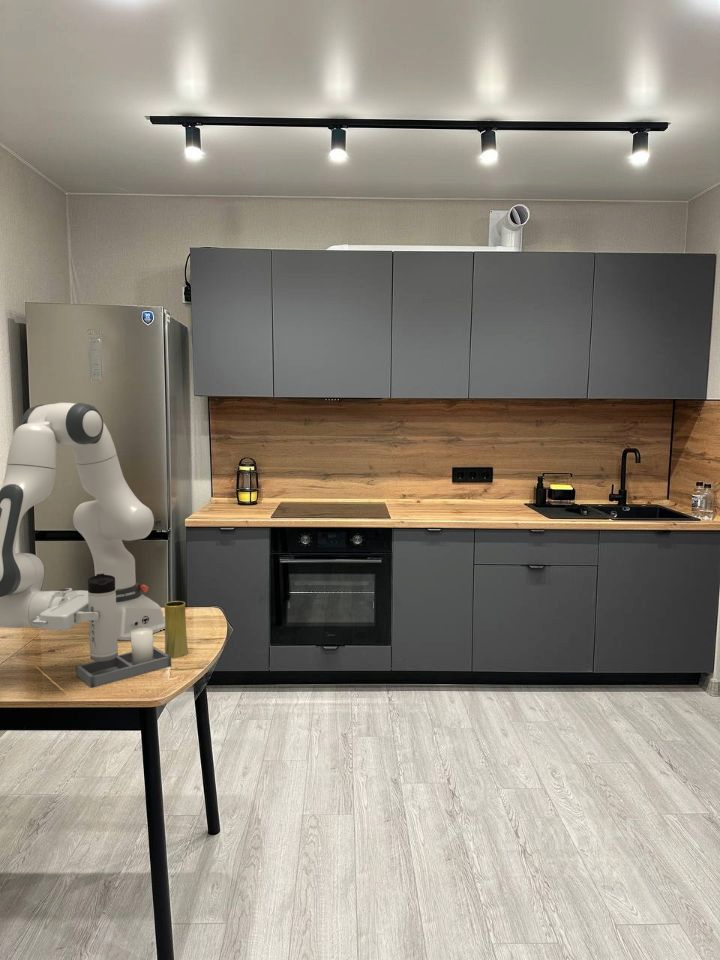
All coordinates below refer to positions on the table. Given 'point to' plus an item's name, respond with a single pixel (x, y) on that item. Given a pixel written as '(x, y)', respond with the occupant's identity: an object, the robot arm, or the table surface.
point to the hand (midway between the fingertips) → (105, 610)
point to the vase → (175, 629)
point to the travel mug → (103, 618)
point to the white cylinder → (142, 645)
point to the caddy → (119, 668)
